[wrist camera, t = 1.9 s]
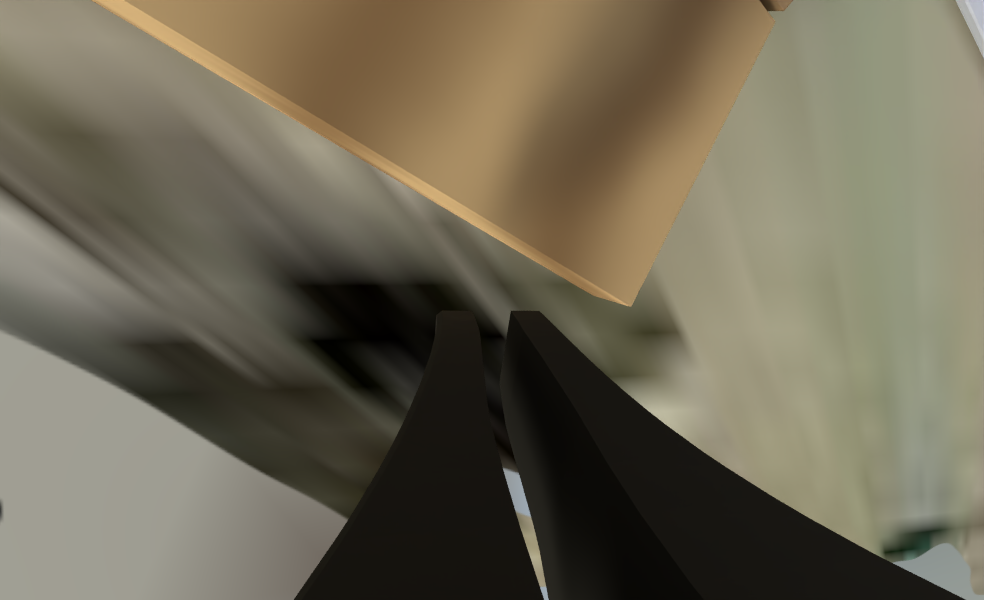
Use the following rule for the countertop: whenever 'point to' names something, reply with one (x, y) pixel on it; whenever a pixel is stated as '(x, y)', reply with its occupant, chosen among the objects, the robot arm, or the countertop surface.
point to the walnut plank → (775, 4)
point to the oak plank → (500, 104)
